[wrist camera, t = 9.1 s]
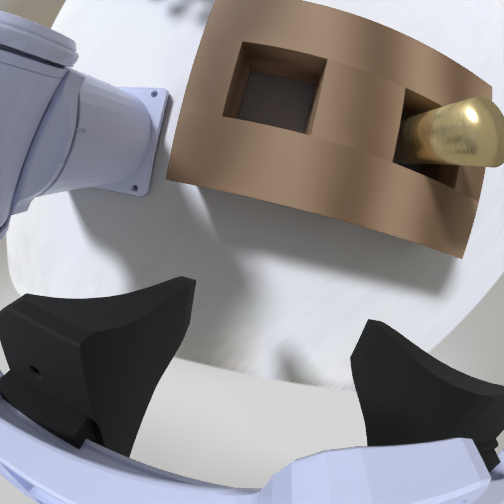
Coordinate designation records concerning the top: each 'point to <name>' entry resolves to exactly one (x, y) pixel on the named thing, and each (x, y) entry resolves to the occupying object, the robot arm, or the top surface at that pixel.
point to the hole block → (326, 120)
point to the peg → (453, 135)
